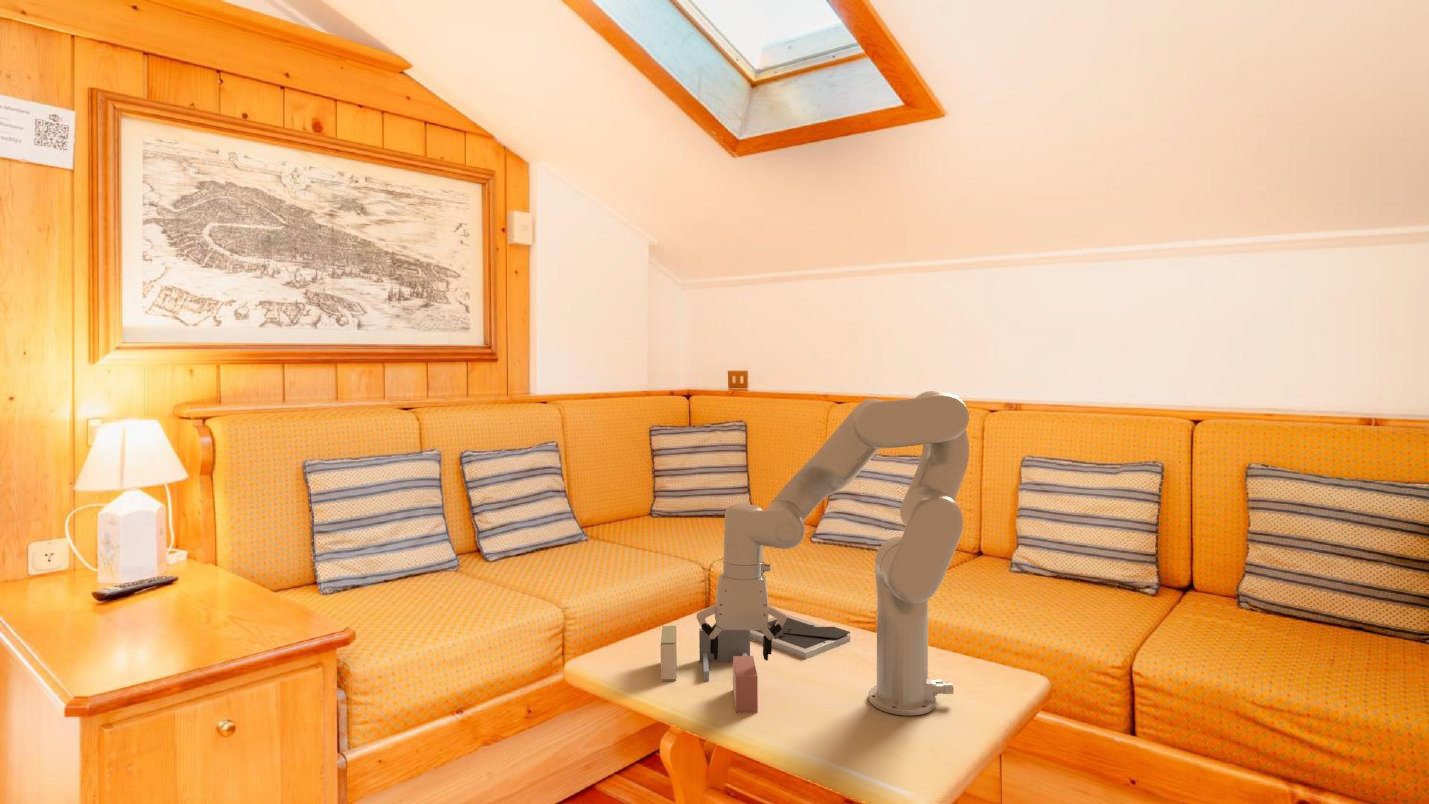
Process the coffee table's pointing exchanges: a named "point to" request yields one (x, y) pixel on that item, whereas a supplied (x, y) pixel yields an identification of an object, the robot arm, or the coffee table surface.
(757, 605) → the robot arm
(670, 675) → the olive rectangular block
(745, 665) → the reddish pink rectangular block
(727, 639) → the shelf slot
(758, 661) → the coffee table surface
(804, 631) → the picture frame
